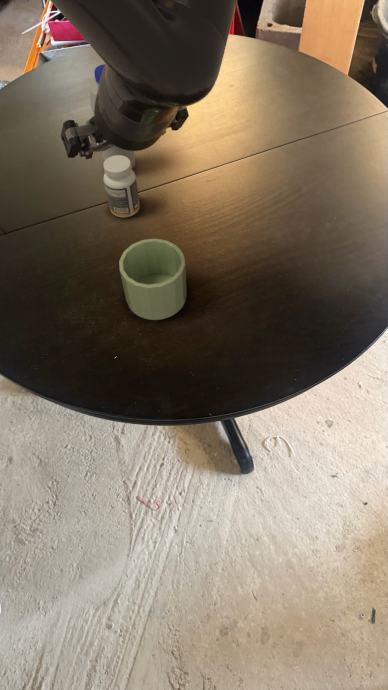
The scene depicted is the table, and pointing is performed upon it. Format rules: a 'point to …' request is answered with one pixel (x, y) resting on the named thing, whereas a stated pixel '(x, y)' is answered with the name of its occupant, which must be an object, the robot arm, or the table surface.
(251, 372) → the table surface
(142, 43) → the robot arm
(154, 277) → the green cup
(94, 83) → the bottle
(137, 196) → the pill bottle
